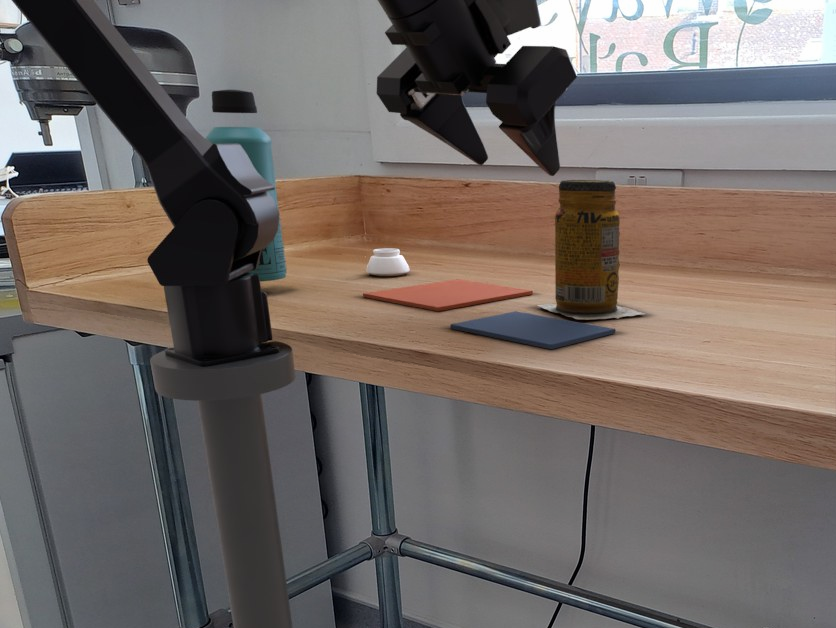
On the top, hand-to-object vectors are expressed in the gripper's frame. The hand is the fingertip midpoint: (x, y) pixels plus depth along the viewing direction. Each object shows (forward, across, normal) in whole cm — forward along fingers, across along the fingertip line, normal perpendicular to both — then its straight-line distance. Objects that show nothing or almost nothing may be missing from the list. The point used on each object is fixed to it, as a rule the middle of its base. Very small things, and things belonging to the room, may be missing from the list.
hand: (518, 166), depth 74 cm
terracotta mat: (+13, +14, +7) cm, 20 cm away
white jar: (+17, +31, +4) cm, 36 cm away
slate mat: (+8, -5, +10) cm, 14 cm away
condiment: (+15, -3, +3) cm, 15 cm away
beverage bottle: (+6, +30, +18) cm, 35 cm away
